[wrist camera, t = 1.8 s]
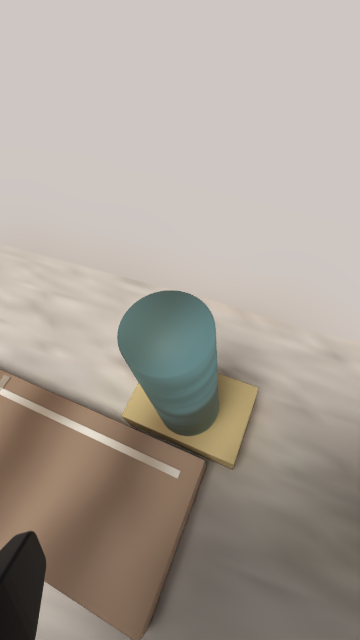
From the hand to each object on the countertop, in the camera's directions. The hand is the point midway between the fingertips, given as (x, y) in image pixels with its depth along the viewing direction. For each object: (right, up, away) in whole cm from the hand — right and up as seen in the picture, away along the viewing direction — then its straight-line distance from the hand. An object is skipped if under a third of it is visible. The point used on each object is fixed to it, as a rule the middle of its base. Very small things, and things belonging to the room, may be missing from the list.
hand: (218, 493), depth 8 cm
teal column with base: (0, -2, +13) cm, 13 cm away
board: (-10, -5, +13) cm, 17 cm away
